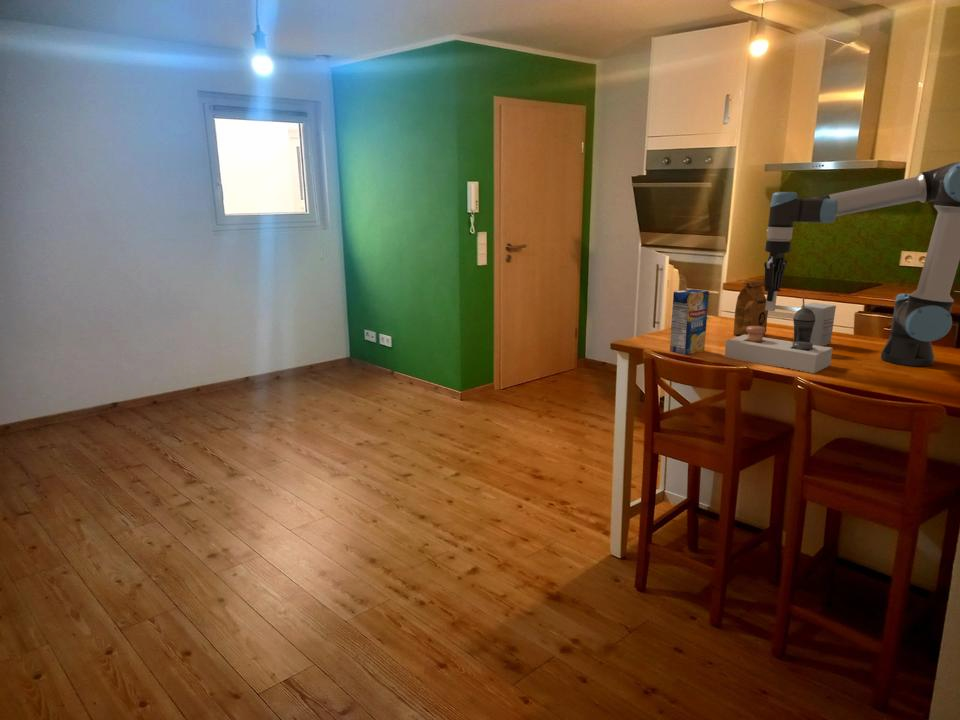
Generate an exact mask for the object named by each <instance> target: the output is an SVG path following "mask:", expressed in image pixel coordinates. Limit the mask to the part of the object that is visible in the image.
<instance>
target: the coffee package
mask: <svg viewBox="0 0 960 720" xmlns="http://www.w3.org/2000/svg"><path fill="white" fill-rule="evenodd" d="M763 285H765V280H763V279H762V280H761V279H760V280H754V281H747V282H745V284H744V285H743V287H742V288H741V290H740V292H739V293H738V295H737V298H736V304H735V310H734V322H733V324H734V325H733V335H734V336H741V335H744V334H745V335H748V332H747V331H746V330H747V326H761V327H765V333H763V334H764V335H765V334H766V333H767V325H768V316H769V315H768V313H769V311H767V310H765V306H766V298H767V296H766V295H765V294H764V290H763Z"/></svg>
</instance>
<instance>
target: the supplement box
mask: <svg viewBox="0 0 960 720" xmlns="http://www.w3.org/2000/svg"><path fill="white" fill-rule="evenodd" d="M804 308H805V309H810V310H811V311H812V312H813V313H814V315H815V320H816V321H815V324H814V326H813V330H812V334H811V339H810V343H812V344H813V345H817V346H823V347H825V346H828V345H827V344H829V345H831V344H832V336H833V328H834V321H835V315H836V309H837V306H836V305H834V304H826V303H818V302H810V303H804ZM800 309H803V304H802V305H801V308H800ZM830 343H831V344H830ZM824 345H825V346H824Z"/></svg>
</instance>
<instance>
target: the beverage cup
mask: <svg viewBox="0 0 960 720" xmlns="http://www.w3.org/2000/svg"><path fill="white" fill-rule="evenodd" d="M804 304H805V296H804V295H803V296H802V305H803V309H801V308H800V309H799V310H797V311H796V312H795V313H794V315H793V318H792V320H793V342H797V341H801V342H809V343H810V339H811V334H812V330H813V326H814V324H815V321H816V320H815V315H814V313H813V312H812V311H811V310H810V309H805V308H804Z"/></svg>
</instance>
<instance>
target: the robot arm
mask: <svg viewBox="0 0 960 720" xmlns="http://www.w3.org/2000/svg"><path fill="white" fill-rule="evenodd" d="M918 201H919V202H920V203H922V204H924V203H930V202H931V203H932V202H934V204H933V207H934V209H935V210H936V211H937V215H936V218H935V223H934V227H933V229H932V234H931V237H930V241H929V245H928V248H927V250H926V251H927V252H926V255H925V259H924V262H923V266H922V269H921V270H922V271H921V274H920V277H919V281H918V284H917V288H916V289H915V290H914V291H913V292H911V293H899V294H897V295H896V297H895V301H894V307H893V313H892V314H893V315H892V321H891V329H890V335H889V338H888V340H887V342H886V343H885V345H884V347H883V349H882V351H881V355H880V359H881V360H883V361H885V362H887V363H891V364H896V365H901V366H908V367H909V366H911V367H931V366H933V365H934V363H935V354H934V350H933V349H934V348H933V345H932V342H934V341H937V340H940V339H942V338H944V337H945V336H946V335H947V334H948V333H949V332H950V330H951V329H952V326H953V317H952V314H951V312H952V308H953V305H954V303H955V299H953V297H952V296H951V290H952V287H953V284H954V280H955V277H956V274H957V270H958V268H959V267H958V266H959V263H960V161H957V162H952V163H948V164H946V165H945V164H944V165H943V166H939V167H938V168H934V169H931V170H927V171H923V172H918V174H917V175H916V176H914V177H910V178H904V179H899V180H894V181H890V182H889V181H888V182H884V183H879V184H875V185H870V186H865V187H861V188H860V187H859V188H855V189H851V190H846V191H840V192H835V193H829V194H827V195H821V196H816V197H810V198H809V197H808V198H800V197H798V193H797V192H796V191H795V192H794V191H776V192H773V194H772V195H771V201H770V206H769V216H768V223H767V224H768V225H767V229H766V239H768V240H766V242H765V248H764V249H765V250H764V251H765V252H766V253H769V255H768V259H767V262H766V261H765V262H764V290H763V292H767V293H766V306H765V310H767V311H768V312H775V311H776V304H777V297H778V296H777V295H778V293H779V292H781V287H782V283H783V278H784V274H785V269H786V266H787V263H788V260H787V259H785V254H788V253H790V251H791V245H792V242H791V240H792V238H793V230H794V223H813V224H815V223H817V224H819V223H820V224H825V223H829V224H831V223H834V222H835V221H836V218H837V217H838V216H845V215H849V214H855V213H860V212H867V211H870V210H871V211H872V210H876V209H881V208H885V207H886V208H887V207H891V206H896V205H903V204H908V203H913V202H918Z"/></svg>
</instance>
